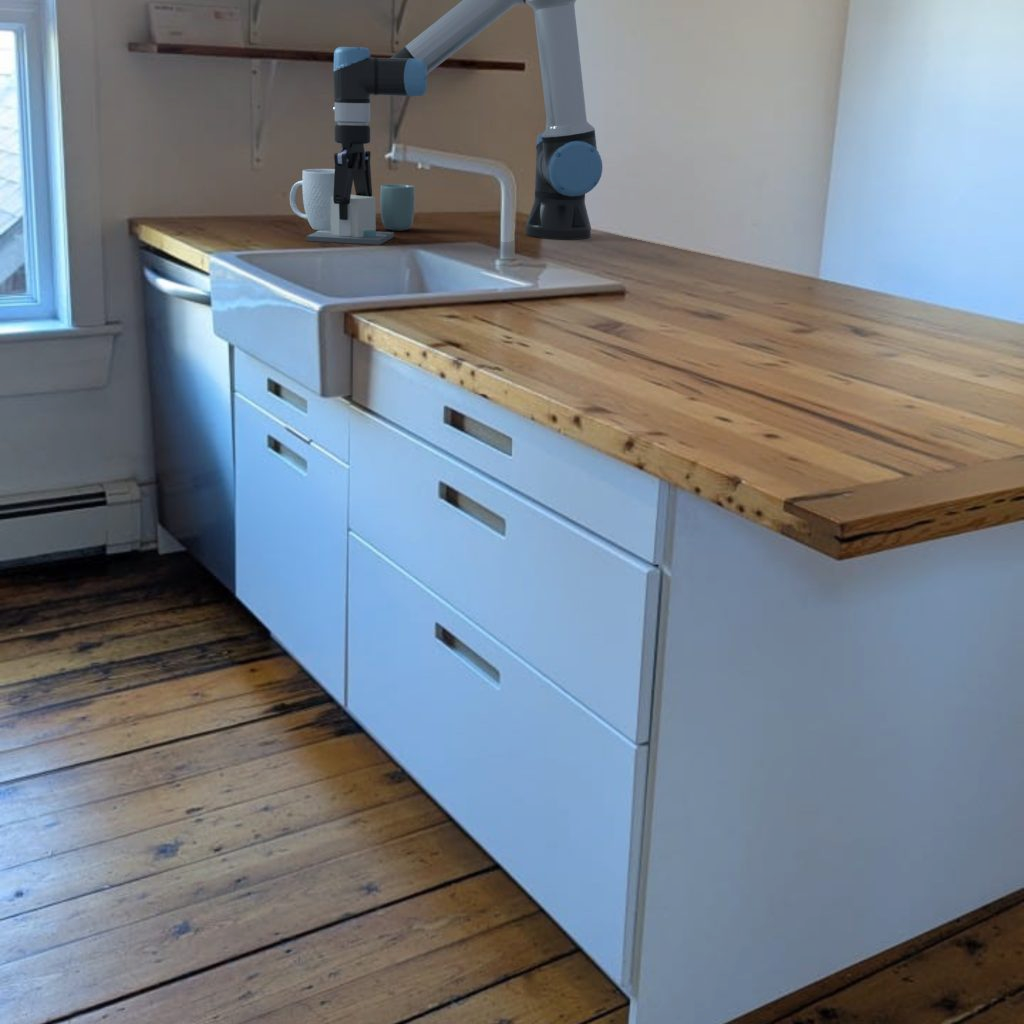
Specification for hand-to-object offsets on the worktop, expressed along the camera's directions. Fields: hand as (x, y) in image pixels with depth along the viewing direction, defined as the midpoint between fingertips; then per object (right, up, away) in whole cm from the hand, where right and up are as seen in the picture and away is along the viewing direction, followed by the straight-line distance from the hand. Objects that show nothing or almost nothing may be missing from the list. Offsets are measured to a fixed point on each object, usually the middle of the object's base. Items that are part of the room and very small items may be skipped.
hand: (353, 233), depth 286 cm
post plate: (-1, -1, +1) cm, 1 cm away
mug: (-9, +4, +15) cm, 18 cm away
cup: (+8, +5, +19) cm, 21 cm away
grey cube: (0, 0, 0) cm, 0 cm away
